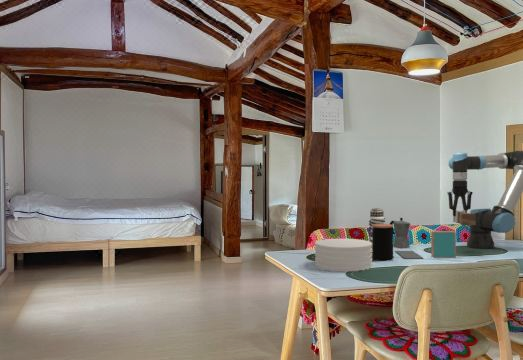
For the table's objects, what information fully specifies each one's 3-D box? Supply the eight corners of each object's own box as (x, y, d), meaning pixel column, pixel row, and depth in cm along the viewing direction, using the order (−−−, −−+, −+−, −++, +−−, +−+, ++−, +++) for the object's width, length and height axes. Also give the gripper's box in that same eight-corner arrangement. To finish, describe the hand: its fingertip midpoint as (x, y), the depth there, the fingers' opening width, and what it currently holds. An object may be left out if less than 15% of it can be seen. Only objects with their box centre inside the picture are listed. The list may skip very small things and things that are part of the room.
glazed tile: (454, 256, 252) (454, 231, 251) (455, 257, 249) (455, 231, 249) (431, 256, 252) (431, 231, 252) (432, 257, 250) (432, 231, 250)
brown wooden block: (450, 221, 267) (450, 211, 267) (462, 221, 267) (462, 211, 267) (462, 225, 250) (462, 214, 249) (475, 225, 249) (475, 213, 249)
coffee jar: (391, 256, 253) (391, 223, 253) (394, 260, 243) (394, 226, 242) (371, 256, 255) (371, 223, 254) (374, 260, 244) (373, 226, 244)
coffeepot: (415, 247, 282) (415, 218, 281) (405, 249, 277) (404, 219, 276) (395, 244, 295) (395, 216, 294) (385, 246, 289) (384, 217, 289)
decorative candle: (388, 252, 267) (388, 208, 266) (375, 253, 264) (374, 209, 263) (379, 249, 276) (378, 207, 275) (365, 251, 272) (365, 208, 272)
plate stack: (333, 258, 253) (333, 237, 253) (381, 264, 235) (381, 241, 235) (304, 266, 231) (304, 243, 231) (355, 274, 213) (355, 249, 213)
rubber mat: (412, 251, 268) (412, 250, 268) (423, 259, 246) (423, 257, 246) (394, 251, 269) (394, 250, 269) (404, 259, 247) (404, 257, 247)
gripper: (447, 180, 258) (447, 222, 259) (477, 180, 257) (477, 222, 258) (442, 180, 266) (442, 221, 266) (472, 180, 265) (472, 221, 265)
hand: (459, 221), depth 262 cm, fingers closed on brown wooden block, 3 cm apart
